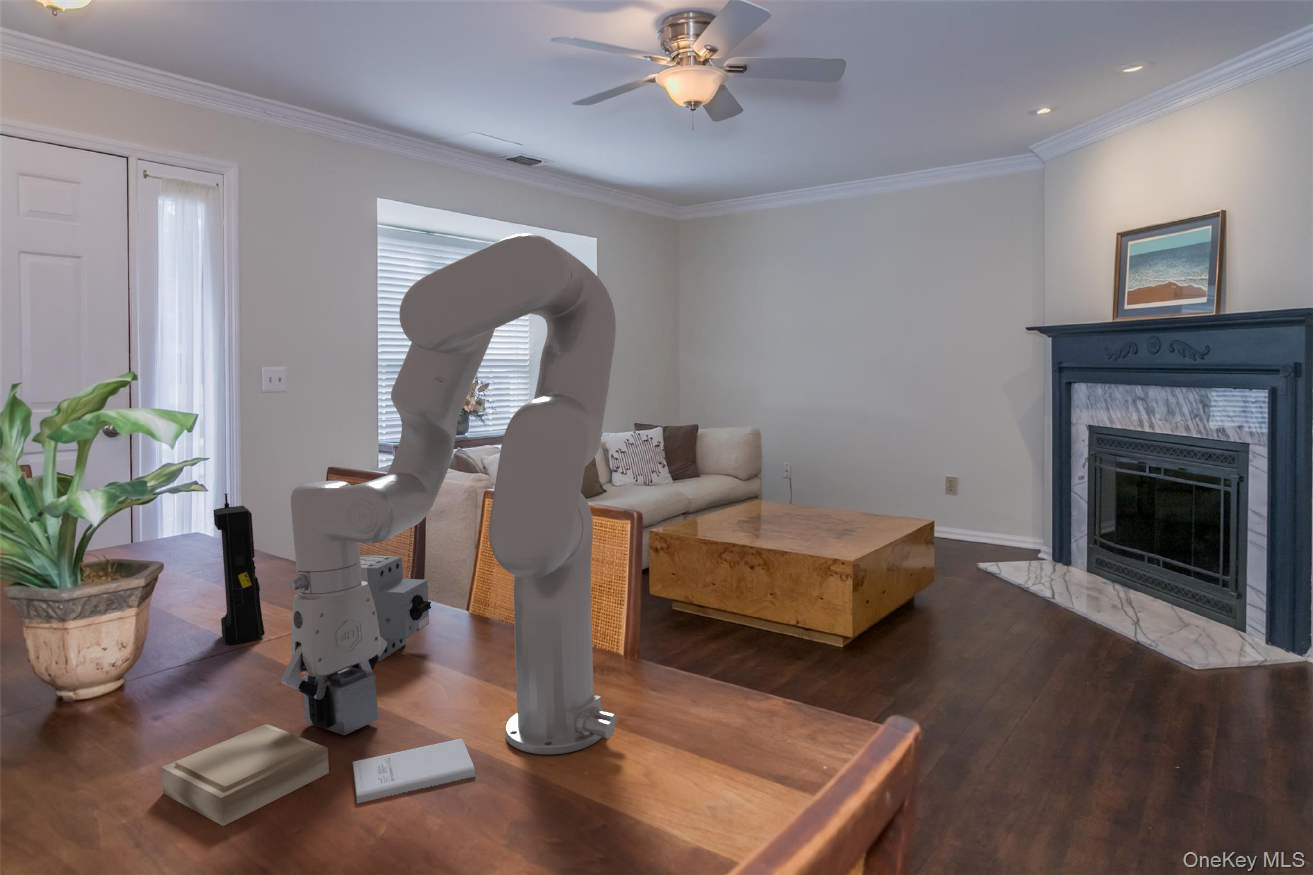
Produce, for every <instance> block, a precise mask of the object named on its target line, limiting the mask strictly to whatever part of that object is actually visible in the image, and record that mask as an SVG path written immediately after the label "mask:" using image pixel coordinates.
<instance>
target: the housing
mask: <svg viewBox="0 0 1313 875" xmlns="http://www.w3.org/2000/svg"><path fill="white" fill-rule="evenodd" d="M305 677H306V675H304V676H302V677H301V679H303V680H305ZM316 678H317V677H316ZM315 684H316V682H315ZM302 695H303V706H304V718H305V723H307V724H309V725H312V726H315V727H319V726H316V725H313V723H312V721H311V719H310V712H309V701H308V696H305V695H304V694H303V693H302ZM325 696H327V697H329V702H330V714H331V727H329V728H327V729H325V728H322V727H319V728H321V729H325V730H327V731H331V732H333V733H336V734H339V735H342V736H347V735H349V734H350V733H352V732H355V731H356V730H359V729H361V728H363V727H365V726H367V725H369V724H371V723H373V722H376V721H379V710H378V698H377V684H376V674H375V673H373V674H372V673H369V672H366V670H362V669H358V668H350V667H349V668H347V669H344V670H342V671H339V672H336V673H334V674H331V675H329V676H328V677H327V683H326V690H325Z"/></svg>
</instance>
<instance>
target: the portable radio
mask: <svg viewBox="0 0 1313 875" xmlns="http://www.w3.org/2000/svg"><path fill="white" fill-rule="evenodd" d="M223 495H224V496H225V497H224V499H225V502H224V504H223V505H224V506H223V507H220V508H216V509H213V522H214V523H213V524H214V526H215V527H216V530H218V531H221V544H222V559H223V574H224V589H225V590H224V591H225V600H226V601H225V603H226V614H225V616H223V617H221V618H220V622H221V623H220V624H221V625H220V626H221V636H222V638H223V641H224V644H225V645H236V644H235V643H237V644H241V643H240V642H242V643H247V642H246V641H248V642H252V641H251V640H253V641H257V639H259V640H261V639H262V638H263V636H264V635H265V633H266V632H265V628H264V620H263V613H262V607H261V598H260V597H261V596H260V591H261V588H260V583H259V579H258V577H257V575H256V566H255V560H254V558H255V557H256V555H255V544H254V542H255V541H254V528H253V517H252V516H253V515H252V512H251V511H250V510H249V509H248V508H247V507H246V506H245V505H235V506H230V503H229V502H228V493H223Z"/></svg>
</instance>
